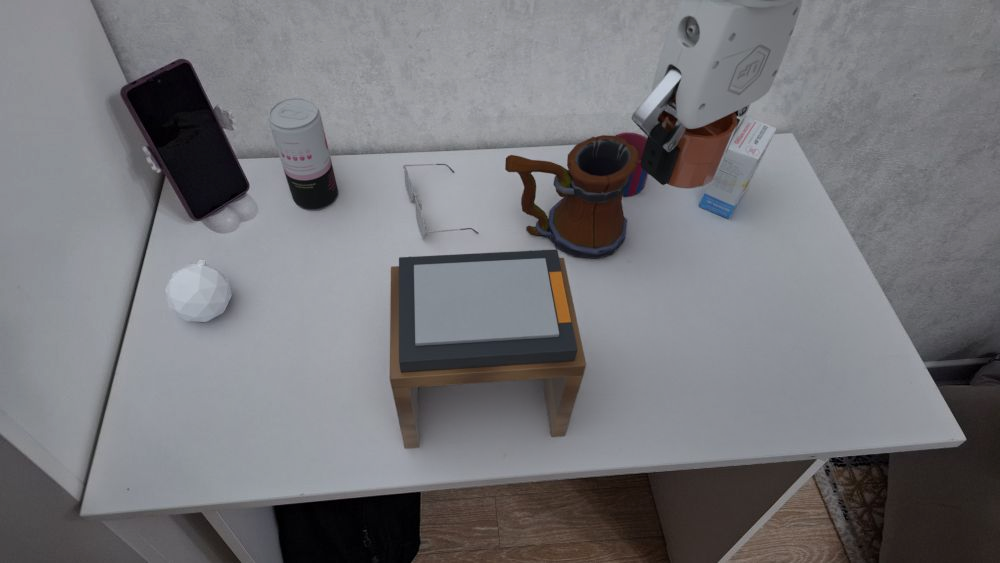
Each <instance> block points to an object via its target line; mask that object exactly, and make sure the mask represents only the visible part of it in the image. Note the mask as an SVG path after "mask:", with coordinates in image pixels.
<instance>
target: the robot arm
mask: <svg viewBox="0 0 1000 563" xmlns="http://www.w3.org/2000/svg"><path fill="white" fill-rule="evenodd" d="M802 5H803V0H680V1H679V4H678V7H677V9H676V11H675V14H674V16H673V19H672V21H671V24H670V27H669V30H668V31H667V35H666V37H665V40H664V43H663V46H662V49H661V52H660V55H659V59H658V62H657V65H656V69H655V73H654V77H653V81H652V86H651V92H650V93H649V94H648V95H647V96H646V97H645V99H644V100H643V101H642V102H641V104H640V105H639V106H638V107H637V108H636V110H634V112H633V113H632V114H631V115H632V116H631V121H632V122H634V123H635V125H636V126H637V127H638V128H639V130H641V131H642V132H643V133H644V134H645V135H646V136H647V137H646V138H647V141H646V145H645V148H644V152H643V155H642V159H641V162H640V165H641V168H642V169H644V170H645V171H646V172H647V173H648V176H650V177H652V179H654V180H655V181H656V182H657V183H659V184H660V185H662V186H666V185H668V184H667V183H669V181H670V179H671V176H672V173H673V170H674V167H675V164H676V161H677V158H678V155H679V152H680V148H679V147H678V146H677V144H678V143H679V141H680V139H681V138H682V136H683V135H684V133H685V131H686V130H687V128H688V129H695V128H700V127H703V126H705V125H707V124H710V123H712V122H714V121H716V120H718V119H721V118H723V117H725V116H727V115H729V114H731V113H733V112H735V113H736V115H737V126H738V124H739V121H740V120H739V117H742V116H743V115H744V114H745V113H746V112H747V113H748V111H749V109H748V107H749V104H751V105H752V104H753V103H755V102H757V101H759V100H760V99H762V98H763V97H765V95H766V94H767V93H768V92H769V91H770V90H771V88H772V85H773V84H774V81H775V79H776V77H777V75H778V72H779V69H780V67H781V64H782V62H783V59H784V57H785V54H786V52H787V49H788V46H789V44H790V41H791V39H792V36H793V33H794V30H795V27H796V24H797V21H798V17H799V14H800V11H801V9H802ZM675 99H676V105H675V104H674V103H673V102H674V100H675ZM749 108H750V107H749ZM747 110H748V111H747ZM668 114H670V115H671V116H673V117H674V118H675V119H677V120H678V121H677V122H676V124H675V125H674V127H673V129H672V130H671V132H670V133H669V132H668V131H667V130H666V129H665V128H664V127H663V126H662V124H663V122H664V120H665V119H666V117H667V115H668ZM736 129H737V127H736ZM736 129H735V131H736ZM734 133H735V132H734ZM733 136H734V134H733ZM733 136H732V138H733ZM731 140H732V139H731ZM730 143H731V141H730ZM729 145H730V144H729ZM728 148H729V146H728ZM728 148H727V150H728ZM726 152H727V151H726Z"/></svg>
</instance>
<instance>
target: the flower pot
mask: <svg viewBox="0 0 1000 563" xmlns="http://www.w3.org/2000/svg"><path fill="white" fill-rule="evenodd" d="M673 103H674V104H675V105H676V99H675V100H674V102H673ZM737 118H738V116H737V115H736V113H735V112H733V113H731V114H729V115H727V116H725V117H723V118H721V119H718V120H716V121H714V122H712V123H710V124H707V125H705V126H703V127H700V128H695V129H688V128H687V130H686V131H685V133H684V135H683V136H682V138H681V139H680V141H679V143H678V144H677V146H678V147H679V148H680V152H679V155H678V158H677V161H676V164H675V167H674V170H673V173H672V176H671V179H670V181H669V183H667V184H666V185H669V186H671V187H674V188H679V189H695V188H698V187H699V188H700V187H704V186H706V185H708V183H709V182H711V181H712V180H713V179H714V177H715V176H716V174H717V172H718V170H719V167H720V165H721V163H722V160H723V158H724V155H725V153H726V151H727V148H728V146H729V144H730V141H731V139H732V136H733V134H734V132H735V129H736V127H737ZM677 121H678V120H677V119H675V118H674V117H673V116H671V115H670V114H668V115H667V117H666V119H665V120H664V122H663V124H662V126H663V127H664V128H665V129H666V130H667V131H668V132H669V133H670V132H671V130H672V129H673V127H674V125H675V124H676V122H677Z"/></svg>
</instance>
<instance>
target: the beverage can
mask: <svg viewBox="0 0 1000 563" xmlns="http://www.w3.org/2000/svg"><path fill="white" fill-rule="evenodd" d="M267 117H268V118H267V122H268V125H269V128H270V132H271V134H272V137H273V138H272V139H273V141H274V144H275V147H276V150H277V154H278V157H279V159H280V162H281V165H282V168H283V171H284V175H285V178H286V181H287V185H288V187H289V191H290V194H291V197H292V200H293V202H294V204H296V206H298V207H299V208H302V209H304V210H308V211H309V210H310V211H316V210H317V211H318V210H321V209H325V208H327V207H329V206H330V205H331V204H333V203H334V202H335V201H336V199H337V198H338V196H339V188H338V182H337V178H336V175H335V171H334V170H335V169H334V167H333V162H332V157H331V153H330V149H329V144H328V140H327V136H326V132H325V128H324V122H323V120H322V115H321V111H320V109H319V108H318V106H317V103H315V102H314V101H313V100H311V99H309V98H306V97H301V96H300V97H299V96H294V97H287V98H283V99H281V100H278V101H277V102H275V103H274V104H273V105H271V107H270V108H269V110H268V113H267Z"/></svg>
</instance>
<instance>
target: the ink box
mask: <svg viewBox="0 0 1000 563" xmlns="http://www.w3.org/2000/svg"><path fill="white" fill-rule="evenodd" d="M751 105H752V103H751V104H749V107H748V110H747V112H746V113H745V114H744V115H743V116H742V117H738V119H739V120H740V121H739V124H738V126H737V129H736V131H735V133H734V136H733V138H732V140H731V143H730V145H729V148H728V150H727V152H726V153H725V155H724V158H723V160H722V163H721V165H720V167H719V170H718V172H717V174H716V176H715V177H714V179H713V180H712V181H711V182H709V183H708V184H707V186H706V189H705V191H704V193H703V195H702V197H701V200H700V202H699V204H698V207H699V208H701V209H704V210H706V211H709V212H711V213H713V214H716V215H718V216H721V217H723V218H725V219H726V220H729V219H730V218H731V216H732V214H733V212H734V210H735V209H736V207H737V205H738V204H739V202H740V200H741V199H742V197H743V196H744V195H745V193H746V191H747V189H748V187H749V185H750V183H751V181H752V178H753V177H754V175H755V173H756V171H757V169H758V167H759V164H760V163H761V161H762V159H763V157H764V156H765V153H766V152H767V149H768V147H769V145H770V143H771V141H772V140H773V138H774V135H775V133H776V131H777V127H775V126H772V125H770V124H766V123H765V122H762V121H759V120H757V119H754V118H752V117H749V116H747V114H748V111H749V109H750V107H751Z"/></svg>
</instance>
